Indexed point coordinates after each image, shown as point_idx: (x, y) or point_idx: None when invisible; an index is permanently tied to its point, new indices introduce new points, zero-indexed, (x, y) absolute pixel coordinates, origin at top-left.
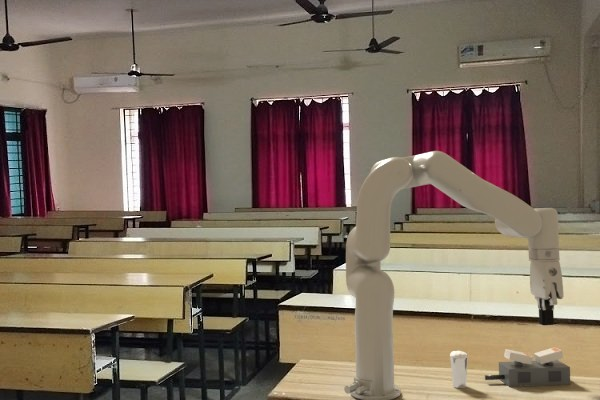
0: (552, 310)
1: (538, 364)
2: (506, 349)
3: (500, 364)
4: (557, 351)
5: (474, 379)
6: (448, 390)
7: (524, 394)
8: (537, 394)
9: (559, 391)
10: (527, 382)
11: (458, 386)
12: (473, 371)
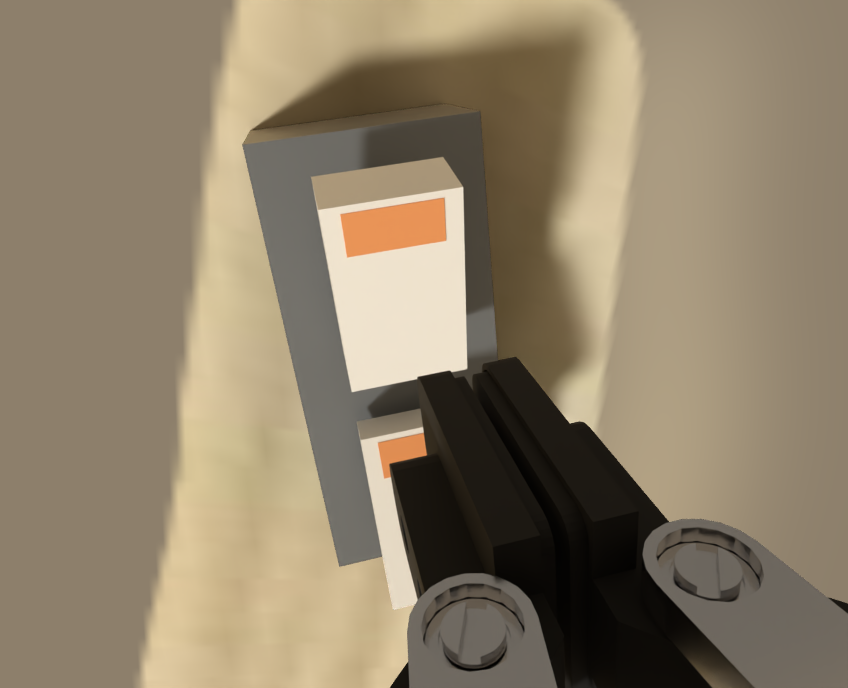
0: (625, 513)
1: None
2: (411, 604)
3: (370, 553)
4: (460, 224)
5: (347, 600)
6: None
7: (598, 410)
8: (606, 351)
9: (572, 222)
10: None
11: None
12: (187, 605)
